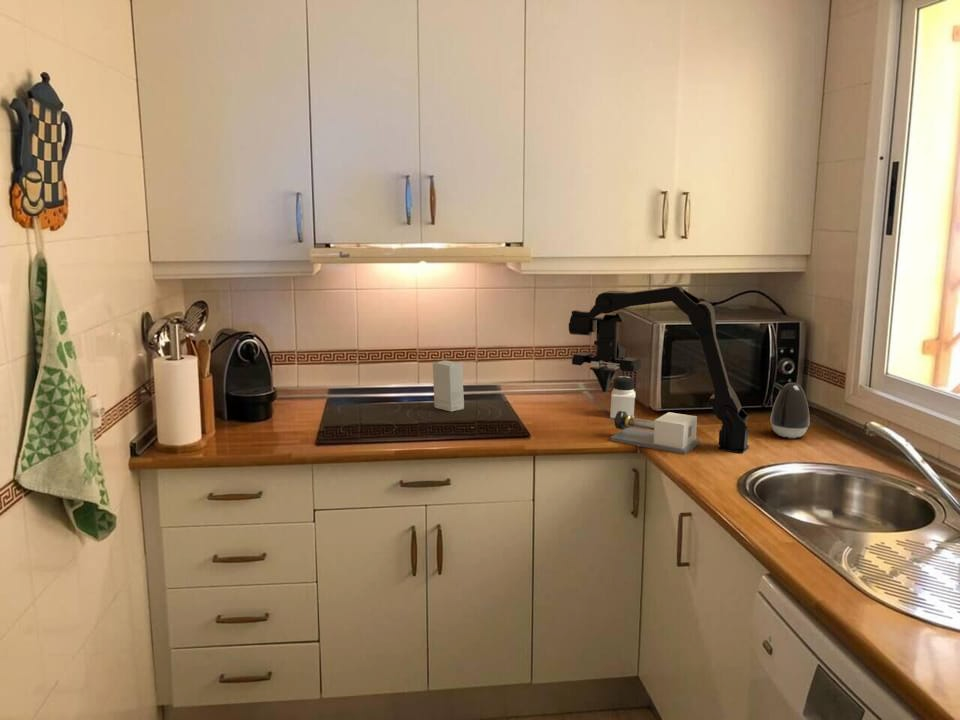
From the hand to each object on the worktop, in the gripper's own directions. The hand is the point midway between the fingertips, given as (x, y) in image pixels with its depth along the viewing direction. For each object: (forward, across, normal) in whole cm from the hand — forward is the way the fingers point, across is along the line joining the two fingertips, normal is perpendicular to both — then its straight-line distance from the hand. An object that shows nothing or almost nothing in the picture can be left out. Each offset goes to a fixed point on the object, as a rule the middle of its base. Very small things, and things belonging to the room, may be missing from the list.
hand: (604, 391), depth 224 cm
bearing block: (+12, -15, 0) cm, 20 cm away
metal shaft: (+10, -12, 0) cm, 16 cm away
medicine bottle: (+12, +3, -20) cm, 24 cm away
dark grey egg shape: (+12, -44, -27) cm, 53 cm away
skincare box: (+12, +52, +3) cm, 54 cm away
